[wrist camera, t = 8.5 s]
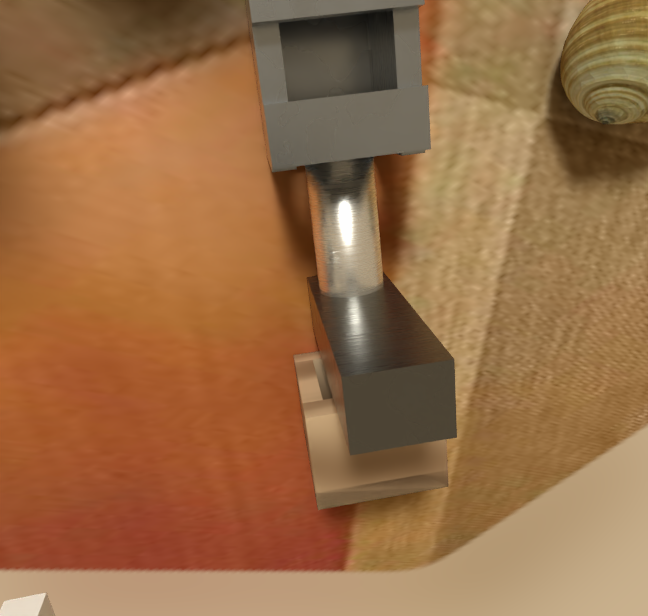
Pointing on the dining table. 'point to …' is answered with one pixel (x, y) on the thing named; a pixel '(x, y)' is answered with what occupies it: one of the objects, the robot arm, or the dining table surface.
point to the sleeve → (338, 79)
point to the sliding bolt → (371, 322)
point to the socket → (362, 469)
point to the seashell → (608, 62)
